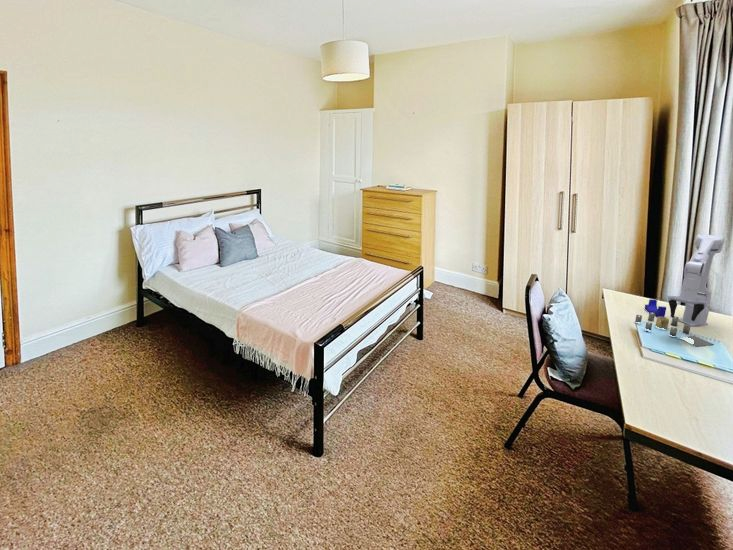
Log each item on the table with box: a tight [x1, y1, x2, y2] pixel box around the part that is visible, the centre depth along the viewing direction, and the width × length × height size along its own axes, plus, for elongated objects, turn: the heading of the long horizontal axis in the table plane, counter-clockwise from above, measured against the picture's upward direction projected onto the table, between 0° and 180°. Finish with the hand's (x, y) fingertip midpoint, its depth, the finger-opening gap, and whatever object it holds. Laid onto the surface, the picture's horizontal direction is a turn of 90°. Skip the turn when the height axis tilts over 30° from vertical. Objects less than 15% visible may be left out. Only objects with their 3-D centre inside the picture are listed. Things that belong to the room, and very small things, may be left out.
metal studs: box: [634, 312, 692, 337], centre depth 201 cm, size 21×20×4 cm
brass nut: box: [654, 316, 670, 330], centre depth 201 cm, size 4×5×5 cm
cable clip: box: [644, 299, 667, 318], centre depth 218 cm, size 12×4×6 cm, turn 169°
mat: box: [686, 335, 714, 347], centre depth 188 cm, size 9×9×1 cm
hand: (682, 318), depth 186 cm, fingers open, 7 cm apart
